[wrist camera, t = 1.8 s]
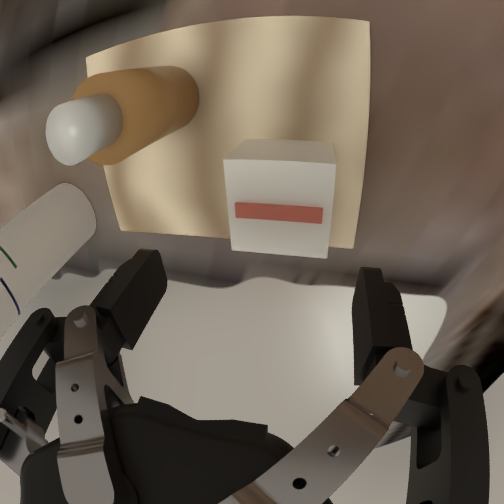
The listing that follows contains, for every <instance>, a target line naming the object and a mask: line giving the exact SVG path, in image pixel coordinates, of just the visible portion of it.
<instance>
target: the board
mask: <svg viewBox="0 0 504 504" xmlns="http://www.w3.org/2000/svg"><path fill="white" fill-rule="evenodd" d="M86 63H87V73H88V78H89V77H90V76H93V75H95V74H99V73H105V72H112V71H119V70H126V69H135V68H145V67H157V66H176V67H179V68H182V69H184V70H185V71H187V72H188V73H189V74H190V75H191V76H192V77H193V78H194V80H195V82H196V84H197V86H198V90H199V106H198V109H197V112H196V114H195V116H194V117H193V119H192V120H191V121H190V122H189V123H188V124H187V125H186V126H184V127H183V128H181V129H179V130H177V131H175V132H173V133H171V134H169V135H167V136H165V137H163V138H161V139H159V140H158V141H156V142H154V143H152V144H150V145H148V146H147V147H145V148H143V149H141V150H140V151H138V152H136V153H134V154H133V155H131V156H129V157H128V158H126V159H124V160H123V161H121V162H119V163H117V164H114V165H103V166H104V170H105V174H106V178H107V182H108V186H109V190H110V194H111V198H112V201H113V205H114V209H115V212H116V216H117V219H118V222H119V226H120V229H121V231H135V232H150V233H164V234H178V235H192V236H205V237H218V238H231V236H230V226H229V217H228V206H227V196H226V186H225V175H224V164H223V159H224V158H225V157H226V156H227V155H228V154H229V153H230V152H231V151H232V150H233V149H234V148H235V147H236V146H238V145H239V144H240V143H241V142H242V141H243V140H244V139H278V140H302V141H318V142H331V143H333V149H334V154H335V160H336V175H335V188H334V199H333V210H332V219H331V229H330V237H329V246H328V247H338V248H349V249H353V246H354V240H355V234H356V228H357V222H358V215H359V208H360V201H361V194H362V186H363V177H364V168H365V159H366V148H367V136H368V121H369V101H370V28H369V21H362V20H354V19H344V18H333V17H317V16H269V17H252V18H241V19H231V20H223V21H216V22H209V23H203V24H198V25H192V26H187V27H182V28H178V29H173V30H169V31H165V32H161V33H157V34H153V35H149V36H146V37H142V38H139V39H136V40H132V41H129V42H126V43H123V44H120V45H117V46H114V47H112V48H109V49H106V50H104V51H101V52H98V53H96V54H93V55H91V56H88V57H86Z"/></svg>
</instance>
